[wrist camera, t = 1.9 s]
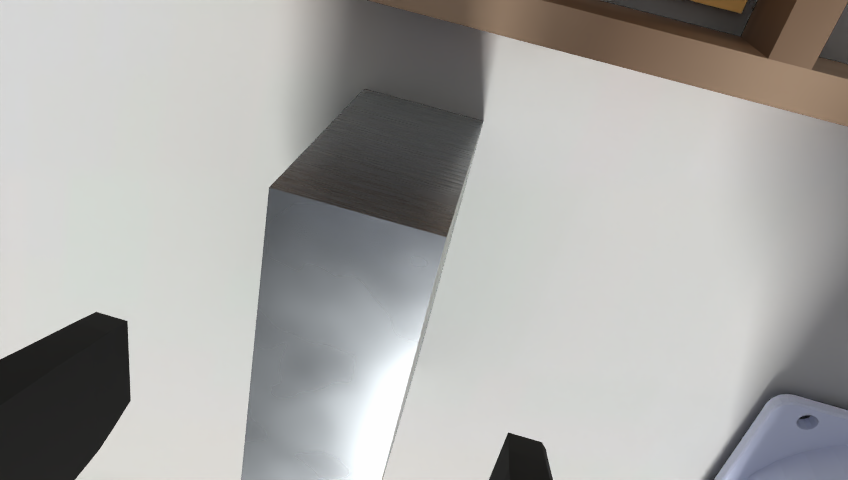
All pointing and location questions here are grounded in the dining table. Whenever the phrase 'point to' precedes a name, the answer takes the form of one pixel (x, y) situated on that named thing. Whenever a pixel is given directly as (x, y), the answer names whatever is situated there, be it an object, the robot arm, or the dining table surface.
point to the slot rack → (681, 44)
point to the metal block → (351, 286)
